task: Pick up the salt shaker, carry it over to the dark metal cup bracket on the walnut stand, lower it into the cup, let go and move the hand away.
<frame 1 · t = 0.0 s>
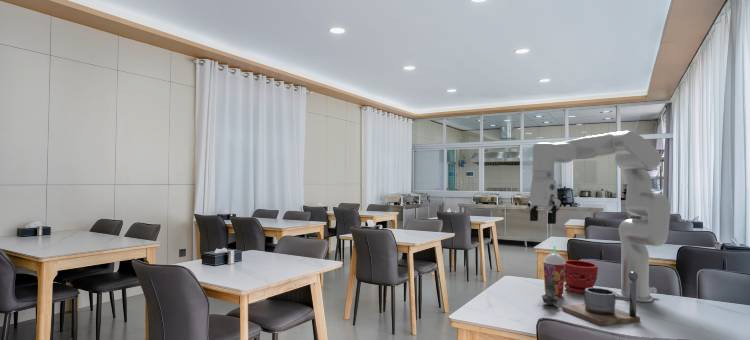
hand: (542, 222, 160), 31 cm above the table, tool pointing down, fingers open, 9 cm apart
plant pot: (580, 291, 183), on the table
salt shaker: (550, 307, 160), on the table
cup bracket: (599, 315, 150), on the table
smoothie: (553, 296, 175), on the table
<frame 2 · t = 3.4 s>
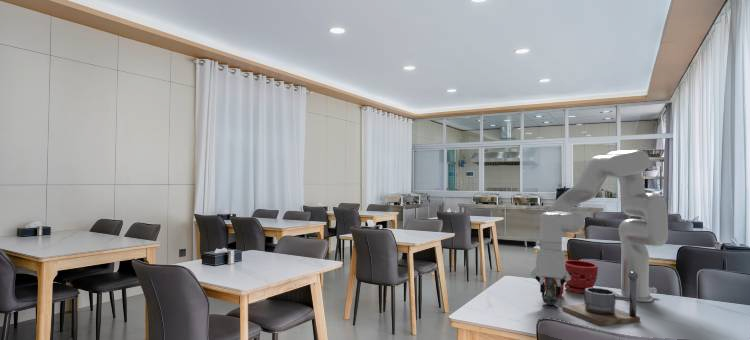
hand: (550, 295, 160), 4 cm above the table, tool pointing down, fingers closed on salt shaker, 4 cm apart
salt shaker: (549, 307, 160), on the table, touching gripper
everything else where it was.
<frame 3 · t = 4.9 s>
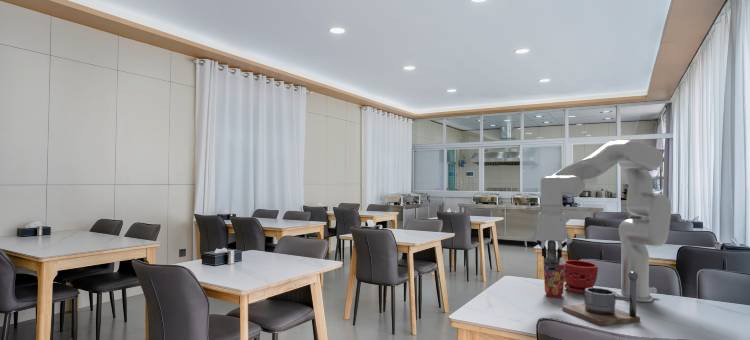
hand: (551, 258, 160), 18 cm above the table, tool pointing down, fingers closed on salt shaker, 4 cm apart
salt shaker: (551, 270, 160), point 13 cm above the table, touching gripper
everything else where it was.
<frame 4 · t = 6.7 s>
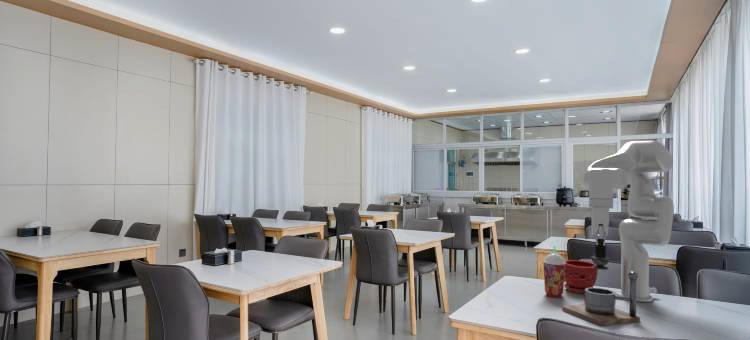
hand: (600, 255, 151), 21 cm above the table, tool pointing down, fingers closed on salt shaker, 4 cm apart
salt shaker: (600, 268, 151), point 16 cm above the table, touching gripper
everything else where it was.
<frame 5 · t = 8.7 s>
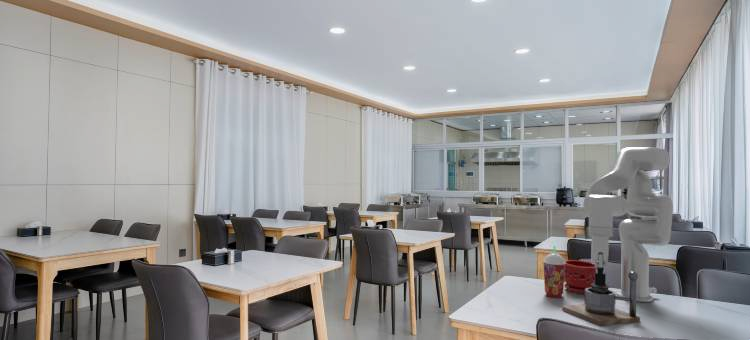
hand: (600, 283, 150), 11 cm above the table, tool pointing down, fingers closed on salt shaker, 4 cm apart
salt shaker: (599, 296, 150), point 7 cm above the table, touching gripper
everything else where it was.
when the fingers open (10 cm above the table, at t = 10.1 s): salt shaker drops 1 cm, resting on cup bracket.
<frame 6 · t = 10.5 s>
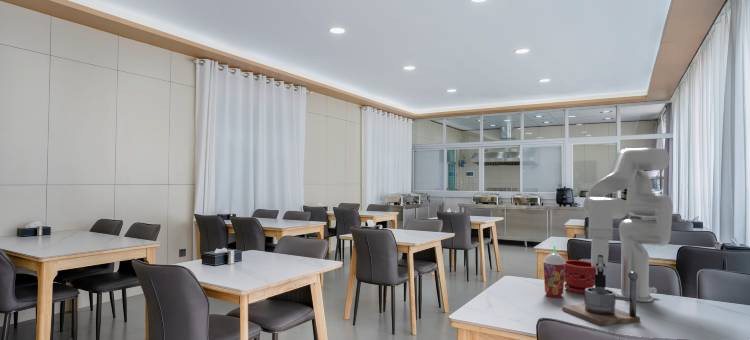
hand: (600, 283, 150), 11 cm above the table, tool pointing down, fingers open, 8 cm apart
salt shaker: (599, 303, 151), point 4 cm above the table, touching cup bracket
everything else where it was.
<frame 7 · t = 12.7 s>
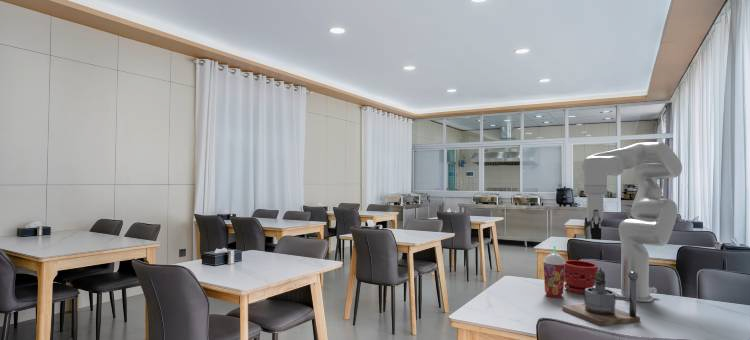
hand: (595, 237, 158), 26 cm above the table, tool pointing down, fingers open, 9 cm apart
nothing on the table moved.
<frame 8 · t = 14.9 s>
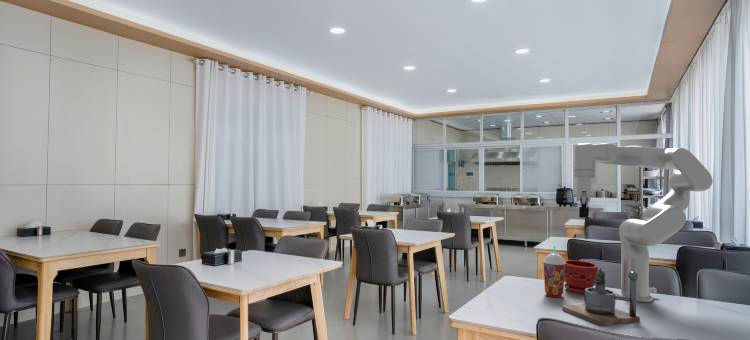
hand: (584, 216, 173), 32 cm above the table, tool pointing down, fingers open, 9 cm apart
nothing on the table moved.
at the end: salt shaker 0.2 cm off-centre on the cup bracket, point 4.3 cm above the cup bracket's base; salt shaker tilted 0°; the gripper is holding nothing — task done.
